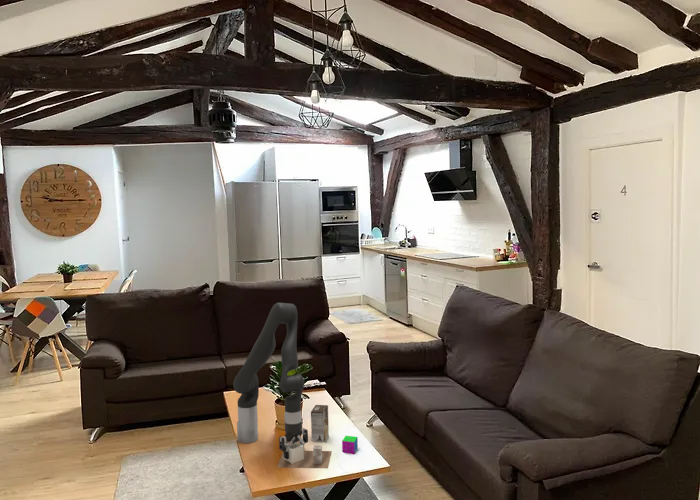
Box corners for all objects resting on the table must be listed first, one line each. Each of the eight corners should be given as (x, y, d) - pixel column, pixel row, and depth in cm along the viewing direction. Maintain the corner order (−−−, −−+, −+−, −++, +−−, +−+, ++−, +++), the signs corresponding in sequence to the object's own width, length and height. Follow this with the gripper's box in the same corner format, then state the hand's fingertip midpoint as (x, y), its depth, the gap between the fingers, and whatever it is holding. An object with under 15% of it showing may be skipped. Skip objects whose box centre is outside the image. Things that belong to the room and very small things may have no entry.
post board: (276, 470, 235) (276, 451, 234) (283, 453, 251) (283, 435, 250) (328, 471, 233) (327, 452, 233) (331, 454, 249) (331, 436, 249)
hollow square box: (292, 463, 238) (291, 450, 237) (283, 458, 243) (283, 445, 242) (304, 458, 242) (303, 445, 241) (295, 453, 247) (295, 441, 246)
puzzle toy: (357, 448, 255) (357, 436, 254) (354, 454, 249) (354, 442, 249) (345, 447, 256) (345, 435, 256) (342, 452, 251) (342, 440, 250)
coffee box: (316, 436, 269) (315, 404, 267) (329, 436, 268) (328, 404, 266) (311, 444, 260) (310, 411, 258) (324, 445, 259) (323, 412, 257)
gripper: (284, 427, 233) (285, 464, 235) (311, 417, 243) (312, 453, 244) (274, 422, 239) (275, 458, 240) (301, 413, 248) (302, 448, 250)
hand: (294, 455), depth 242 cm, fingers open, 7 cm apart
